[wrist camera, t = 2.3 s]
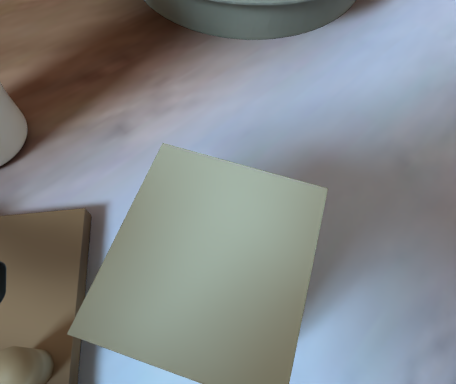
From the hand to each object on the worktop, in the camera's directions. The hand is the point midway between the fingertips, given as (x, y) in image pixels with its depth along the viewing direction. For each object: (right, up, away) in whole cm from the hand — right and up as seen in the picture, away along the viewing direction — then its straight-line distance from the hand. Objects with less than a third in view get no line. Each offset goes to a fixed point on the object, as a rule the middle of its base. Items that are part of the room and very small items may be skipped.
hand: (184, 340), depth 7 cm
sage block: (0, -3, +9) cm, 10 cm away
